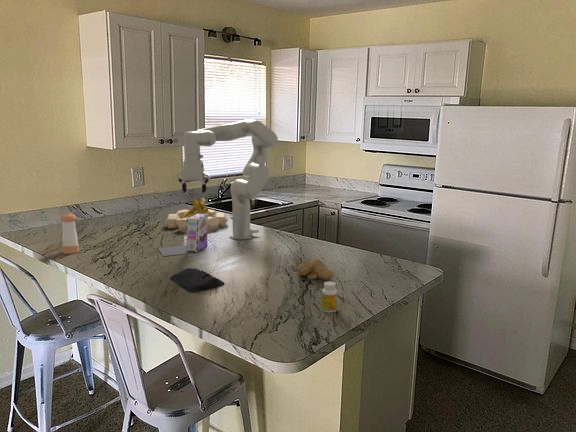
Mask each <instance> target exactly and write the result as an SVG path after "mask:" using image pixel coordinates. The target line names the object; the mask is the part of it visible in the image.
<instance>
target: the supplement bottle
mask: <svg viewBox="0 0 576 432" xmlns="http://www.w3.org/2000/svg"><path fill="white" fill-rule="evenodd" d="M336 285H337V284H336V282H334V281H329V280H328V281H324V283H323V288H322V290H321V303H320V304H321V311H323V312H324V313H335V312H337V309H338V289H336V287H337V286H336Z"/></svg>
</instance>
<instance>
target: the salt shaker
mask: <svg viewBox="0 0 576 432" xmlns="http://www.w3.org/2000/svg"><path fill="white" fill-rule="evenodd" d="M59 220H60V221H61V222H62V224H61V226H62V236H61V237H62V239H61V240H62V246H61V248H62V254H64V255H65V254H66V255H70V254H77V253H79V252H80V245H79V243H78V234H77V230H76V221H77V216H76V215H75V214H74V213H70V212H66V213H64V214H62V215H61V216H60V218H59Z"/></svg>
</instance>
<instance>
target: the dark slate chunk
mask: <svg viewBox="0 0 576 432" xmlns="http://www.w3.org/2000/svg"><path fill="white" fill-rule="evenodd" d="M169 280H170V281H172V282H173V283H174V284H176V285H177V286H179V287H180V288H182V289H184V290H185V291H187V292H188V293H195V294H197V293H199V292H200V293H201V292H204V291H211V290H215V289H218V288H220V287H222V286H224V285H225V282H224V281H223V280H221V279H219V278H217V277H215V276H213V275H212V274H210V273H208V272H206V271H204V270H201V269H198V268H194V267H193V268H189V267H188V268H184V269H183V270H180V271H179V272H178V273H175V274H173V275H172V276H170V277H169Z"/></svg>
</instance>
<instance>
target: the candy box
mask: <svg viewBox="0 0 576 432" xmlns="http://www.w3.org/2000/svg"><path fill="white" fill-rule="evenodd" d="M207 222H208V215H207V214H196V215H194V216H191V217H189V218H187V233H186V246H187V251H192V253H198V252H199V251H202V250H203V249H204V248H205V247H207V246H208V232H207Z"/></svg>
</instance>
